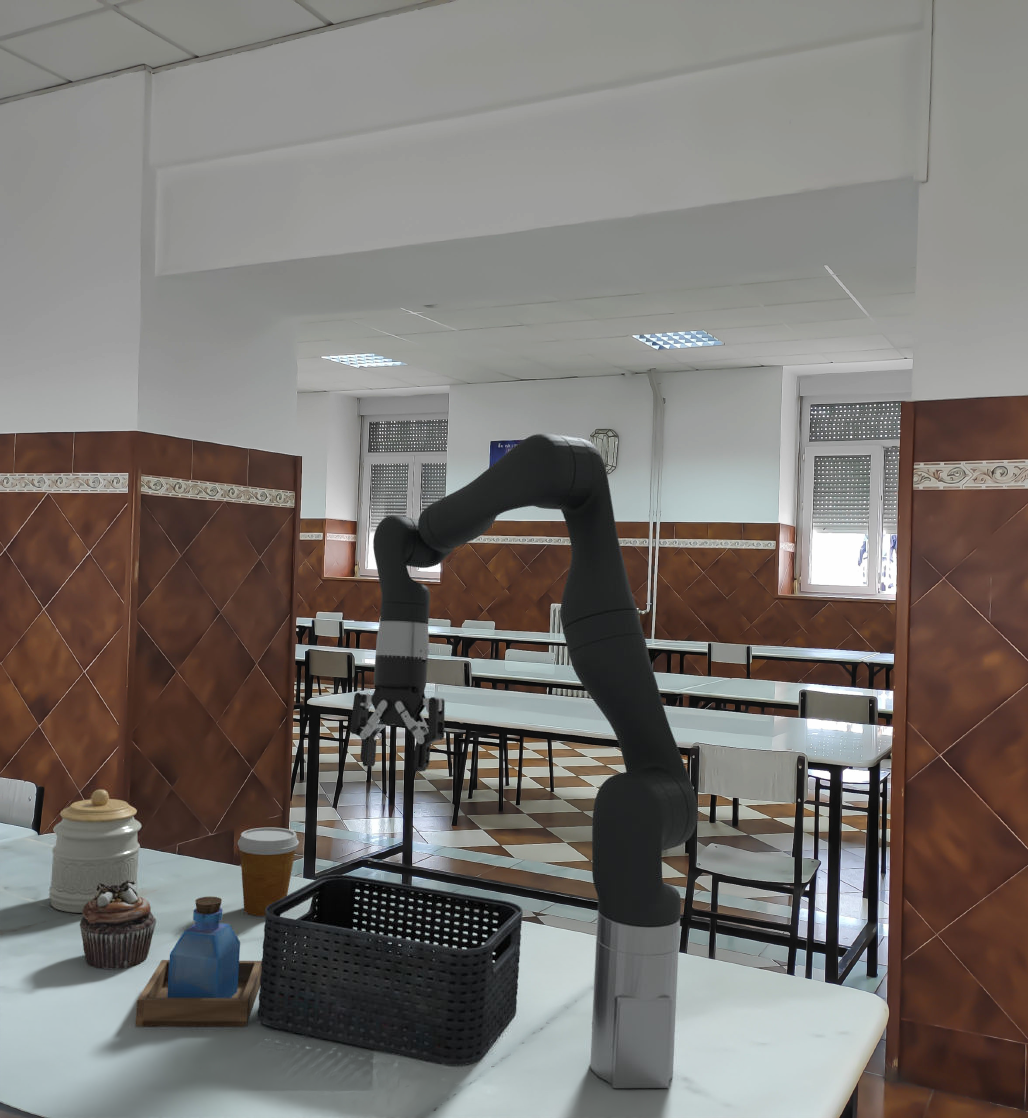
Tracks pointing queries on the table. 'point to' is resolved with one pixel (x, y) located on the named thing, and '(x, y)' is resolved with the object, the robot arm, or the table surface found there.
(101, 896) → the cupcake
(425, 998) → the storage bin
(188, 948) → the perfume bottle
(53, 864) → the jar
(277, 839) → the disposable coffee cup
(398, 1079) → the table surface
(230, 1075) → the table surface
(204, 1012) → the tray
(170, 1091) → the table surface
